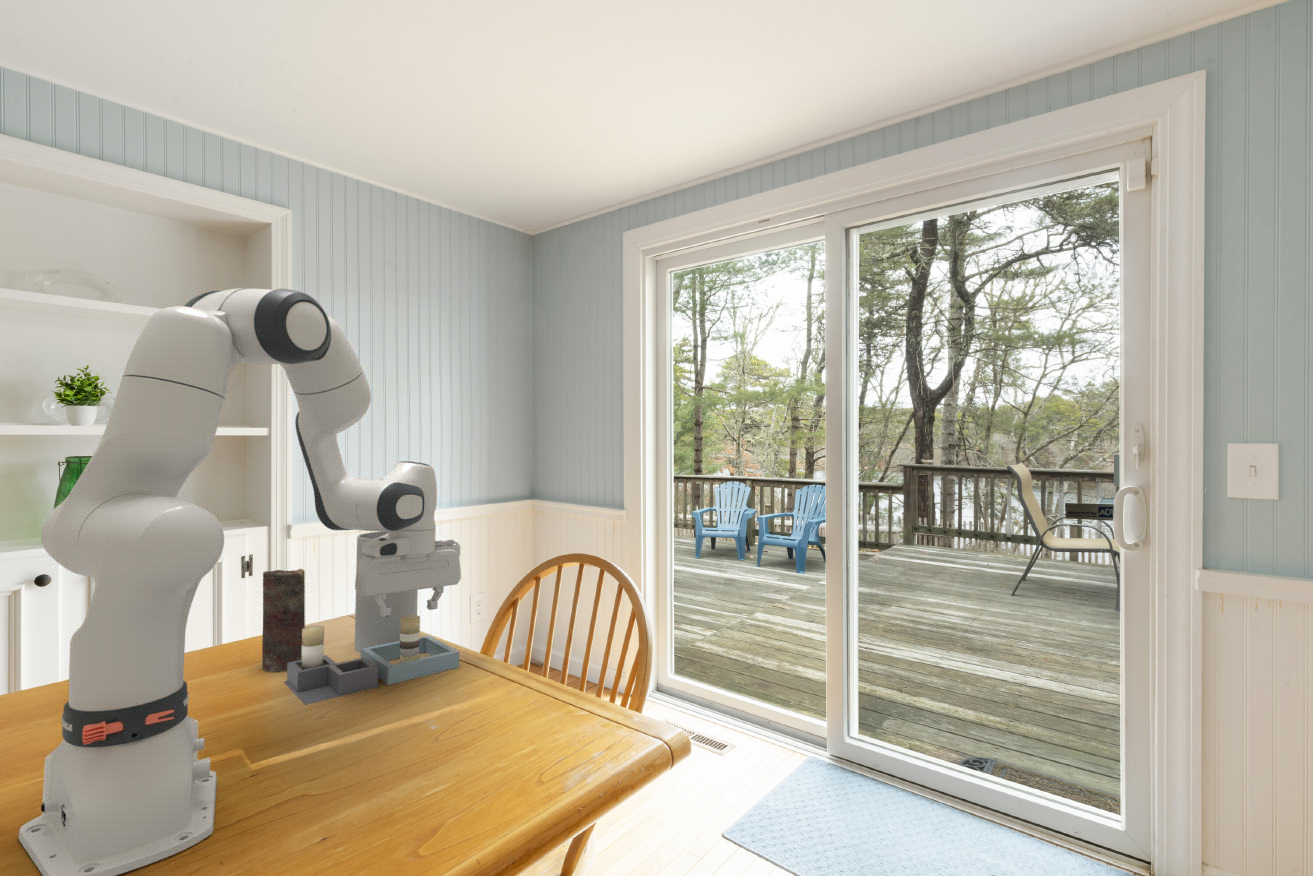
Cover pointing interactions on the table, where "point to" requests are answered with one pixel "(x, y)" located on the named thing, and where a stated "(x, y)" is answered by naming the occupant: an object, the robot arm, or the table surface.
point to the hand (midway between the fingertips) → (409, 612)
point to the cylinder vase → (367, 611)
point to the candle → (282, 618)
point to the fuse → (312, 647)
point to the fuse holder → (331, 679)
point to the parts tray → (390, 674)
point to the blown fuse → (409, 638)
